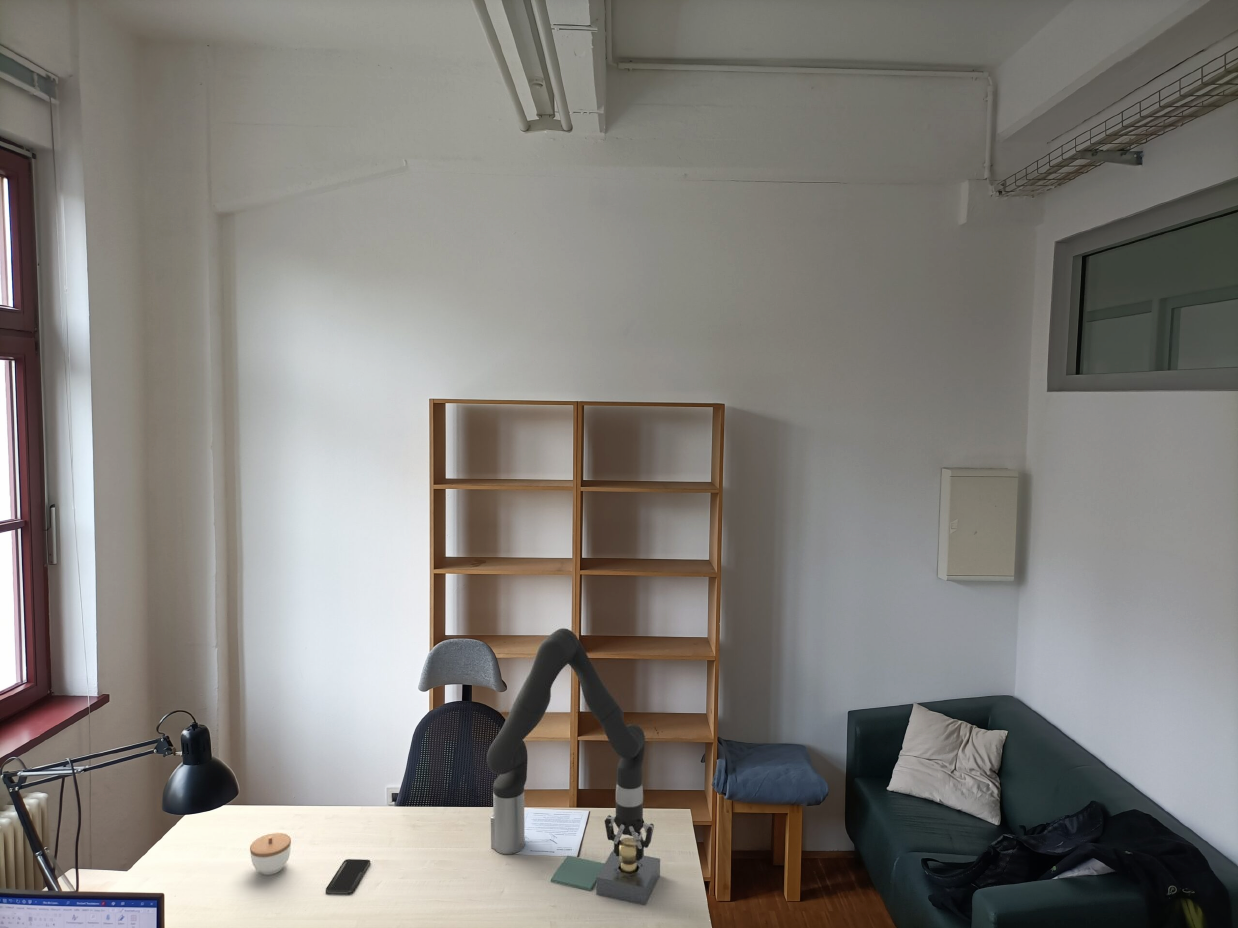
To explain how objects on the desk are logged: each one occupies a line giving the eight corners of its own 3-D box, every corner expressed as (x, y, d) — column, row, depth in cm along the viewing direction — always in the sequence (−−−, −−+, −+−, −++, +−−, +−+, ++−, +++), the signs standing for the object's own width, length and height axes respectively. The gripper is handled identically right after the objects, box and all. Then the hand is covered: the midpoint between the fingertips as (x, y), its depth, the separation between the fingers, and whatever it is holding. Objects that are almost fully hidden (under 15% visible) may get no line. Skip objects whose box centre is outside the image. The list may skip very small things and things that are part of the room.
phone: (324, 891, 216) (345, 858, 231) (324, 894, 216) (345, 862, 231) (352, 892, 216) (371, 859, 231) (352, 895, 216) (372, 863, 231)
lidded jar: (270, 854, 235) (269, 824, 234) (299, 861, 231) (298, 831, 230) (242, 875, 225) (241, 843, 224) (272, 883, 221) (271, 851, 220)
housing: (596, 894, 216) (596, 876, 216) (613, 865, 230) (613, 848, 229) (645, 905, 212) (645, 887, 211) (660, 875, 225) (660, 858, 225)
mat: (550, 881, 222) (550, 878, 222) (567, 857, 233) (567, 855, 233) (590, 890, 218) (590, 887, 218) (605, 865, 229) (605, 863, 229)
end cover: (615, 880, 219) (616, 846, 218) (622, 869, 224) (622, 835, 223) (635, 885, 217) (635, 850, 216) (641, 873, 223) (641, 839, 222)
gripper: (600, 800, 218) (599, 859, 219) (650, 809, 213) (649, 869, 214) (609, 787, 225) (609, 844, 226) (658, 796, 220) (657, 854, 221)
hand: (628, 856), depth 220 cm, fingers closed on end cover, 5 cm apart
